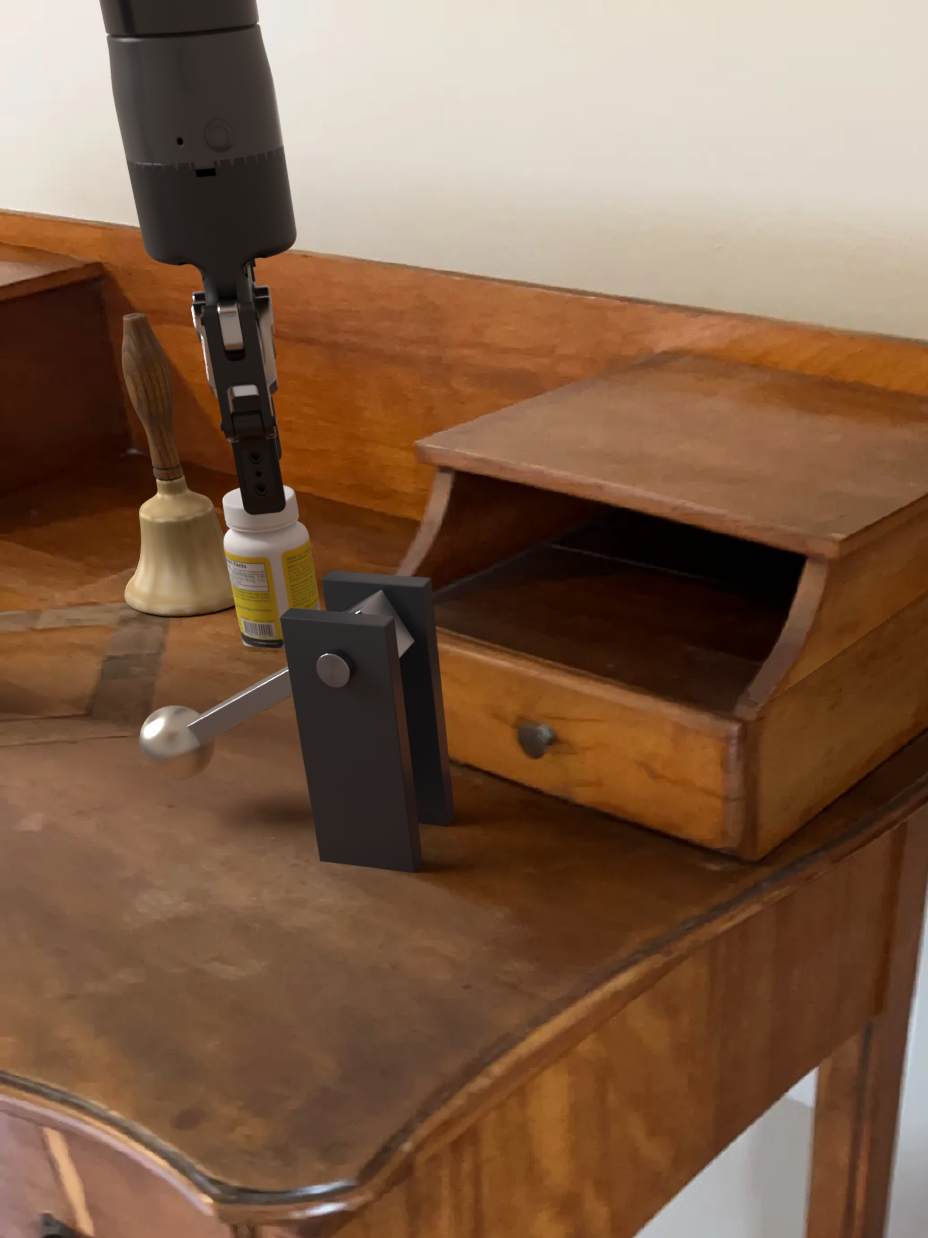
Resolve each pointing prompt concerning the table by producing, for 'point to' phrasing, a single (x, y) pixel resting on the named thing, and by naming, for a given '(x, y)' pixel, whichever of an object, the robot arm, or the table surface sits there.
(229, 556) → the supplement bottle
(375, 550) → the table surface
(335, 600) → the bracket
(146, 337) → the hand bell
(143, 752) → the tap lever
